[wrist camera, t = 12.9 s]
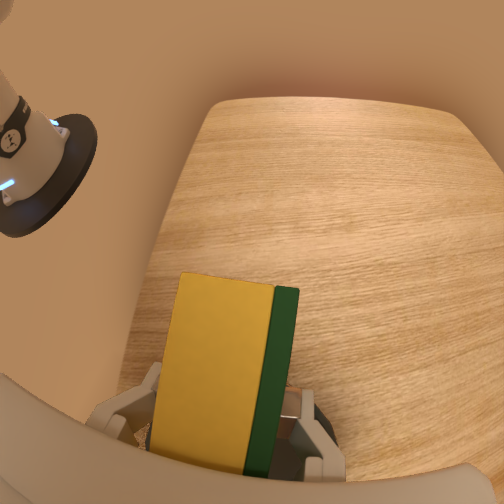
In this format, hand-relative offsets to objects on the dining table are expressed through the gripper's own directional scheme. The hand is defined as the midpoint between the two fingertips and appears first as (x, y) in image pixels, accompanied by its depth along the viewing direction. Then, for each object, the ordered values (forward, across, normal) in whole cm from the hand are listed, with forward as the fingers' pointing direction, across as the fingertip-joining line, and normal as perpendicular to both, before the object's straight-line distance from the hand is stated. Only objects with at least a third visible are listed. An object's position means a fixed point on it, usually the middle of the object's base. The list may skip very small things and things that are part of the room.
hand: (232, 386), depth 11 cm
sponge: (+3, 0, -4) cm, 4 cm away
